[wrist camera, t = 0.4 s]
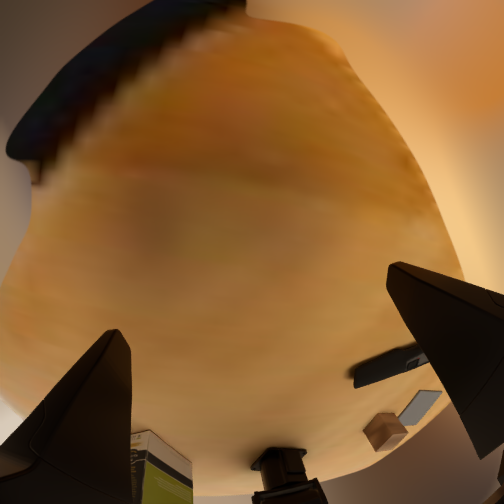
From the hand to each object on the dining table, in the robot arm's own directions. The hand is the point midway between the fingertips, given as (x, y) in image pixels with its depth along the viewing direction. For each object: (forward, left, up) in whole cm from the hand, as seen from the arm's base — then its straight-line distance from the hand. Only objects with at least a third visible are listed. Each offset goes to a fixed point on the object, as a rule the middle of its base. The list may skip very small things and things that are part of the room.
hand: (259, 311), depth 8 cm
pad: (-15, -40, -15) cm, 45 cm away
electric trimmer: (-6, -26, -15) cm, 31 cm away
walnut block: (-18, -32, -15) cm, 40 cm away
